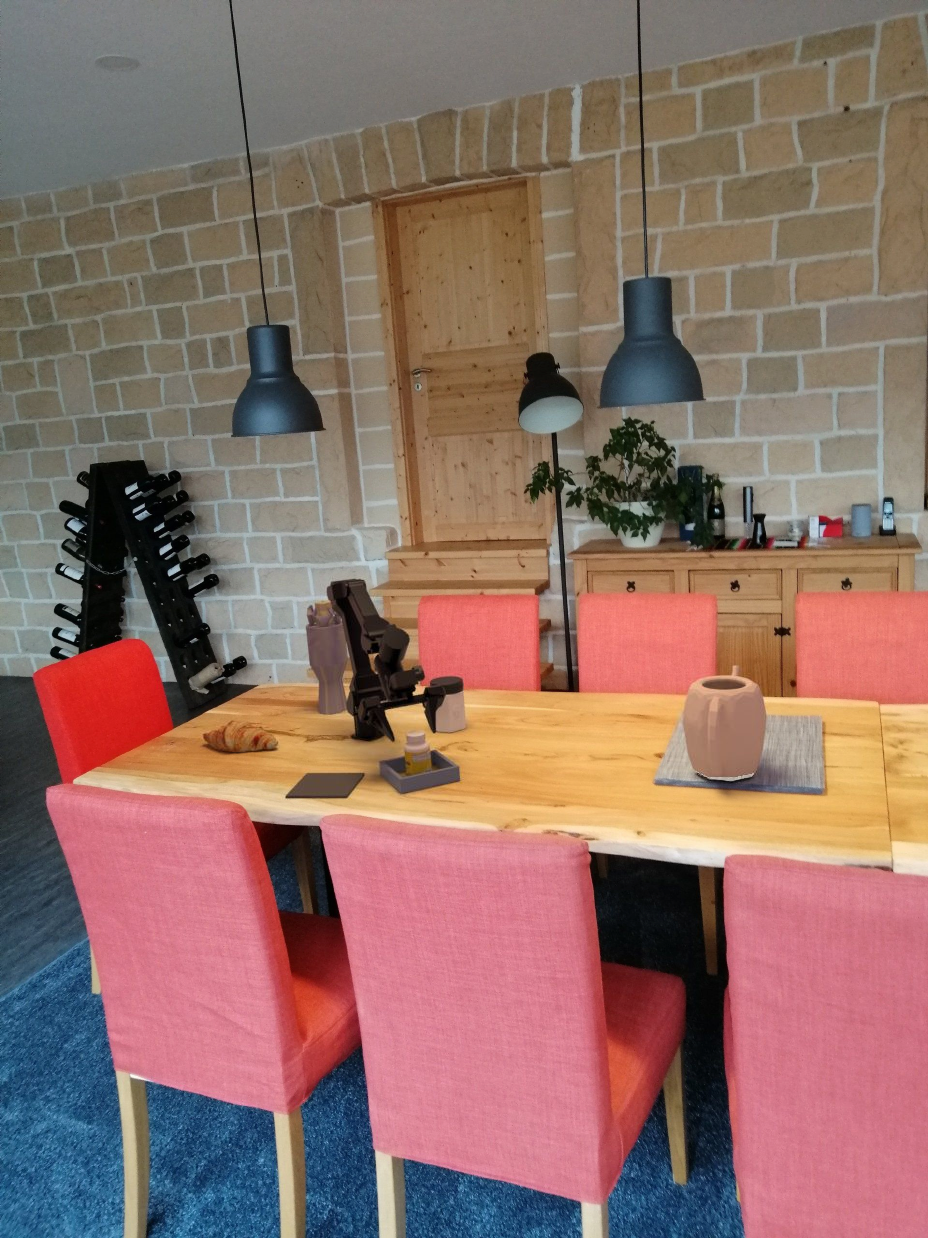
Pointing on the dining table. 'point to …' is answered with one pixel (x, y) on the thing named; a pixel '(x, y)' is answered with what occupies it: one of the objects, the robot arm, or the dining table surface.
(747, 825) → the dining table surface
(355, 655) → the robot arm
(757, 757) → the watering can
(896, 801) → the dining table surface
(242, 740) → the croissant
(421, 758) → the supplement bottle
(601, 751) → the dining table surface
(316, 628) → the vase
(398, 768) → the grey square frame
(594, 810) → the dining table surface
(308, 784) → the mat
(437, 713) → the jar
